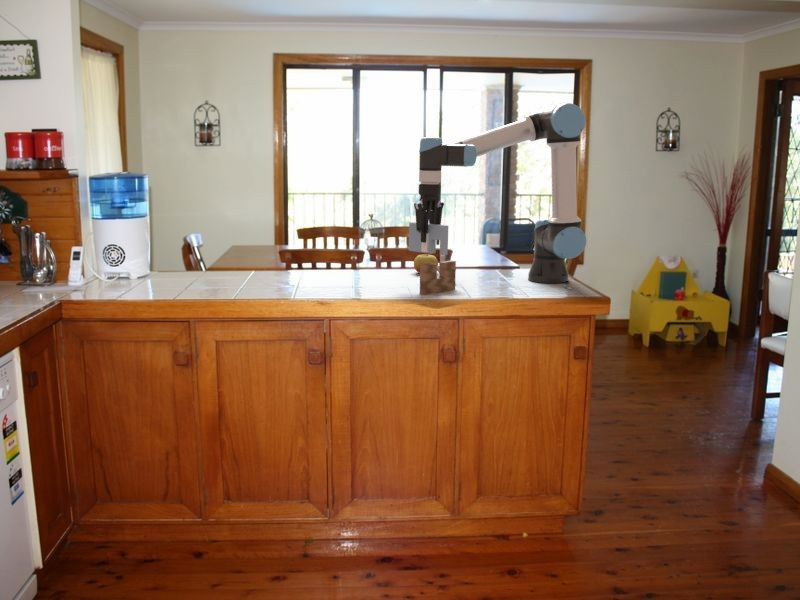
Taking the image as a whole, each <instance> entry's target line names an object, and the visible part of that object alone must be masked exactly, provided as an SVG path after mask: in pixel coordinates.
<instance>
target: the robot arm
mask: <svg viewBox="0 0 800 600" xmlns="http://www.w3.org/2000/svg"><path fill="white" fill-rule="evenodd" d="M585 126H586V116H585V113H584V112H583V110H582V108H580V107H579V106H578V105H576V104H575V103H570V102H569V103H568V102H563V103H557V104H551V105H548V106H545V107H543V108H541V109H539V110H536V111H535V112H533V113H530V114H527V115H524V116H523V118H522V119H520V120H517V121H515V122H512V123H508V124H506V125H502V126H500V127H496V128H494V129H491V130H487V131H485V132H481V133H479V134H476V135H475V134H474V135H472V136H469V137H466V138H463V139H460V140H458V141H454V142H451V143H443V139H442V138H441V137H429V136H428V137H425V136H424V137H421V139H420V143H419V151H418V152H419V163H418V164H419V165H418V166H419V173H418V175H419V176H418V182H419V184H418V194H419V195H420V197H419V201H418V202H415V203H414V204H413V207H414V210H415V222H416V230H417V231H418V232H419V233H421V242H422V244H421V252H420V253H422V252H429V233H427V231H428V224H437V225H442V216H443V215H442V214H443V208H444V206H445V202H443V201H440V198H439V196H440V195H441V189H442V188H441V184H440V183H442V167H465V168H467V167H474V166H475V164H476V161H477V158H478V157H481V156H484V155H487V154H490V153H493V152H496V151H499V150H503V149H505V148H509V147H511V146H513V145H517V144H521V143H522V142H526V141H530V142H535V141H538V140H542V139H546V145H547V146H548V147H549V148H550V153H551V154H550V155H551V156H550V158H551V159H550V161H551V162H550V163H551V164H550V165H551V206H552V207H551V213H552V215H551V217H550V218H549V219H541V220H536V222H535V227H534V244H533V245H534V246H533V248H534V249H533V261H532V262H531V266H530V269H529V271H528V275H527V276H528V277H527V278H528V281H531V282H534V283H541V284H542V283H543V284H561V283H560V282H564V283H567V282H566V281H568V280H569V279H570V277H569V275H570V274H569V272H568V271H569V270H568V267H567V263H566V259H567V260H570V259H571V260H572V259H575V258H577V257H579V256H580V255H581V254H582V253H583V252H584V250H585V248H586V246H587V236H586V234H585V232H584V231H583V230H582V219H581V218H580V217H579V216H578V209H577V207H578V206H577V205H578V204H577V203H578V201H577V196H578V195H577V193H578V192H577V147H578V146H579V145H580V143H581V133H582V132H583V131H584V128H585ZM568 282H569V281H568Z"/></svg>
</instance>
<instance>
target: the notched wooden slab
mask: <svg viewBox="0 0 800 600" xmlns="http://www.w3.org/2000/svg"><path fill="white" fill-rule="evenodd" d="M456 263H457V261H456V260H451V259H450V260H445V261H443V262H440V261H438V266H439V272H438V271H437V264H435V263H429V264H422V265H420V273H419V294H420V295H424V296H425V295H431V294H435V293H436V294H437V293H442V292H446V291H451V290H452V291H453V290H455V289H456V275H457V273H456V271H457V266H456V265H457V264H456Z"/></svg>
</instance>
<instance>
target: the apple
mask: <svg viewBox="0 0 800 600" xmlns="http://www.w3.org/2000/svg"><path fill="white" fill-rule="evenodd" d="M429 263H435V264H437V266H439V261H438V259H437V257H436V256H435V255H432V254H429V253H423V254H418V255H417V256H416V257H415V258H414V260H413V268H414V270H415V271H416V273H419V274H420V265H422V264H429Z"/></svg>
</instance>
